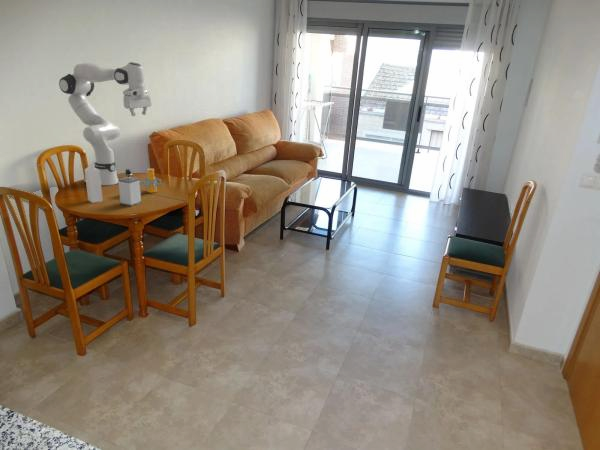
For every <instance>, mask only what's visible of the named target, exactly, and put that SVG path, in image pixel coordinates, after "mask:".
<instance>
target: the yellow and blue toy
mask: <svg viewBox="0 0 600 450" xmlns="http://www.w3.org/2000/svg"><path fill="white" fill-rule="evenodd" d="M146 170H147V178H143V179H142V180H140V184H142V186H146V192H147V193H148V194H149V193H150V194H151V193H152V194H154V193H157V192H158V188H157V187H158V186H159V185H161V184H162V180H161V179H160V178H157V177H156V176H155V168H152V167H151V168H147V169H146ZM144 181H145V182H146V183H143V182H144ZM158 181H159V183H157V182H158Z"/></svg>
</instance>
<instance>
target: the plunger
mask: <svg viewBox="0 0 600 450" xmlns="http://www.w3.org/2000/svg"><path fill="white" fill-rule="evenodd" d="M124 176H125V177H128V180H129V179H130V177H132V176H133V173H132V169H130V168H126V169H125V172H124Z"/></svg>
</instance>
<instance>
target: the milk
mask: <svg viewBox="0 0 600 450" xmlns="http://www.w3.org/2000/svg"><path fill="white" fill-rule="evenodd" d="M94 167H95V166H94V165H93V164H91V163H88V166H87V167H86V168H85V169H84V176H85V179H86V182H85V183H86V184H85V185H86V186H85V187H86V193H87V194H86V195H87V200H88V201H89V202H90V203H92V204H94V203H100V202H103V193H102V185H101V182H100V173H99V170H97V169H95V168H94Z"/></svg>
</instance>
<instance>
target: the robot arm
mask: <svg viewBox="0 0 600 450" xmlns="http://www.w3.org/2000/svg"><path fill="white" fill-rule="evenodd" d="M108 81H116V83H117V84H118V85H122V86H123V85H124V86H125V85H126V86H127V85H128V88H126V89H124V90H123V91H122V95H123V107H124V109H128V110H129V112H130V114H131V115H130V116H131V117H135V116H136V112H134V110H135V109H139V108H142V111H141V114H142V115H143V116H144V115H145V116H146V115H147V110H148V108H150V107H151V106H152V100H151V96H150V93H149V92H148V90H146V88H145V73H144V67H143V65H141V64H140V63H137V62H132V61H131V62H128V63H126V65H124V66H122V67H118V68H112V67H108V66H103V65H100V64H96V63H91V62H90V63H89V62H88V63H87V62H84V63H78V64H76V65H75V66H74V67H73V73H72V74H71V73H67V74H66V75H64V76H63V77H61V78H60V79H59V81H58V85H59V89H60V90H61V92H62V93H64V94H68V95H69V96H68V99H67V101H68V103H69V105H70V107H71V108H72V110H73V111H74V113H75V114H76V116H77V117H78V118H79V119H80V120H81V121H80V122H82V123H83V124H85V125H87V126H86V127H85V128H84V129H83V131H82V133H83V134H82V136H83V138H84V140H85V141H86V142H88V143H89V144H90V145H91V146H92V148H93V151H94V156H95V162H94V163H92V165H93V167H94V168H95V169H97V170H99V173H100V182H101V186H113V185H116V184H119V182H118V179H119V178H118V174H117V169H116V161H115V153H114V150H113V149H112V148H111V147H109V146H108V144H107V142H108V141H112V140H115V139H117V138H119V137H120V136H121V129H120V127H119V126H118V125H117V124H115V123H113V122H111V121H109V120H107V119H106V118H105V117H103V116H102V115H101V114H99V112H98V111H97V110H96V108H94V106H93V105H92V104H91V103H90V101H89V99H88V98H87V97H90V96H91V94H92V93H93V91H94V89H95V83H103V82H108ZM83 182H84V183H86V178H85V179H84V180H83Z"/></svg>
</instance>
